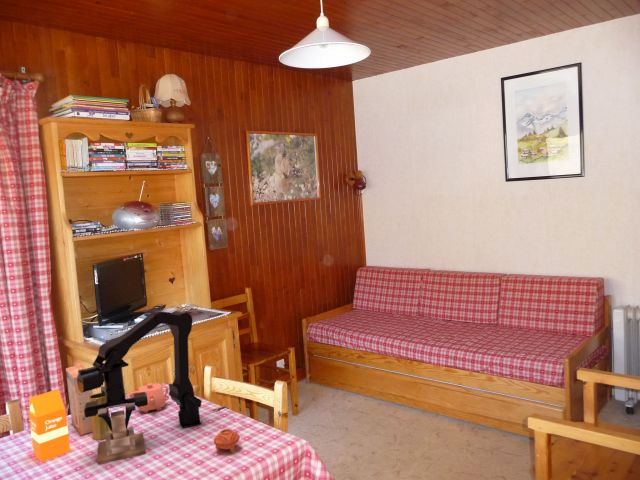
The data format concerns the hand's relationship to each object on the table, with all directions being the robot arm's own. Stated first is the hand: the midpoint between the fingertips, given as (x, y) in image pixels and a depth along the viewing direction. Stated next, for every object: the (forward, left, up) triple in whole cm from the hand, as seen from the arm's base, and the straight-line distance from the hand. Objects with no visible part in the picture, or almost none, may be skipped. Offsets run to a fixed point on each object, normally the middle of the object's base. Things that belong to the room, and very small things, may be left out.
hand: (119, 429), depth 175 cm
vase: (+6, -14, -7) cm, 17 cm away
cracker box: (+12, -25, -7) cm, 29 cm away
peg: (0, 0, -4) cm, 5 cm away
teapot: (-11, -29, -7) cm, 32 cm away
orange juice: (+21, -9, -7) cm, 24 cm away
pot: (-31, +17, -7) cm, 36 cm away
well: (0, 0, -6) cm, 7 cm away
